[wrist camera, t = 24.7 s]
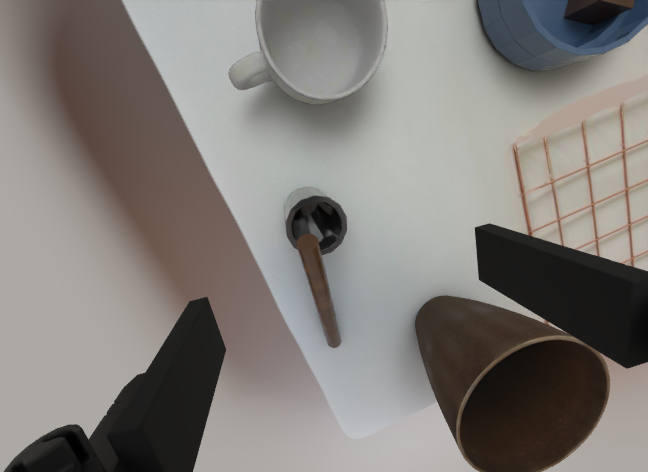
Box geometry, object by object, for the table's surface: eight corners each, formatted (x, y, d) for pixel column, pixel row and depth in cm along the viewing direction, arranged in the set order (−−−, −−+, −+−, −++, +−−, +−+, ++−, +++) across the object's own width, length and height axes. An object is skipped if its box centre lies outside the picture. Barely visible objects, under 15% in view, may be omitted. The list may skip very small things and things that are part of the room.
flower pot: (477, 250, 40) (601, 307, 24) (500, 339, 44) (619, 435, 29) (374, 296, 39) (436, 385, 24) (408, 382, 43) (479, 503, 28)
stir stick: (302, 231, 25) (330, 332, 40) (292, 247, 24) (325, 344, 39) (321, 236, 24) (343, 337, 39) (312, 253, 23) (337, 350, 38)
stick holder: (273, 209, 35) (272, 226, 26) (308, 176, 34) (319, 182, 26) (306, 241, 36) (314, 267, 27) (339, 210, 36) (359, 226, 27)
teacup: (348, -16, 30) (372, -76, 22) (373, 97, 33) (402, 78, 25) (213, 20, 29) (190, -29, 22) (252, 133, 32) (243, 125, 25)
